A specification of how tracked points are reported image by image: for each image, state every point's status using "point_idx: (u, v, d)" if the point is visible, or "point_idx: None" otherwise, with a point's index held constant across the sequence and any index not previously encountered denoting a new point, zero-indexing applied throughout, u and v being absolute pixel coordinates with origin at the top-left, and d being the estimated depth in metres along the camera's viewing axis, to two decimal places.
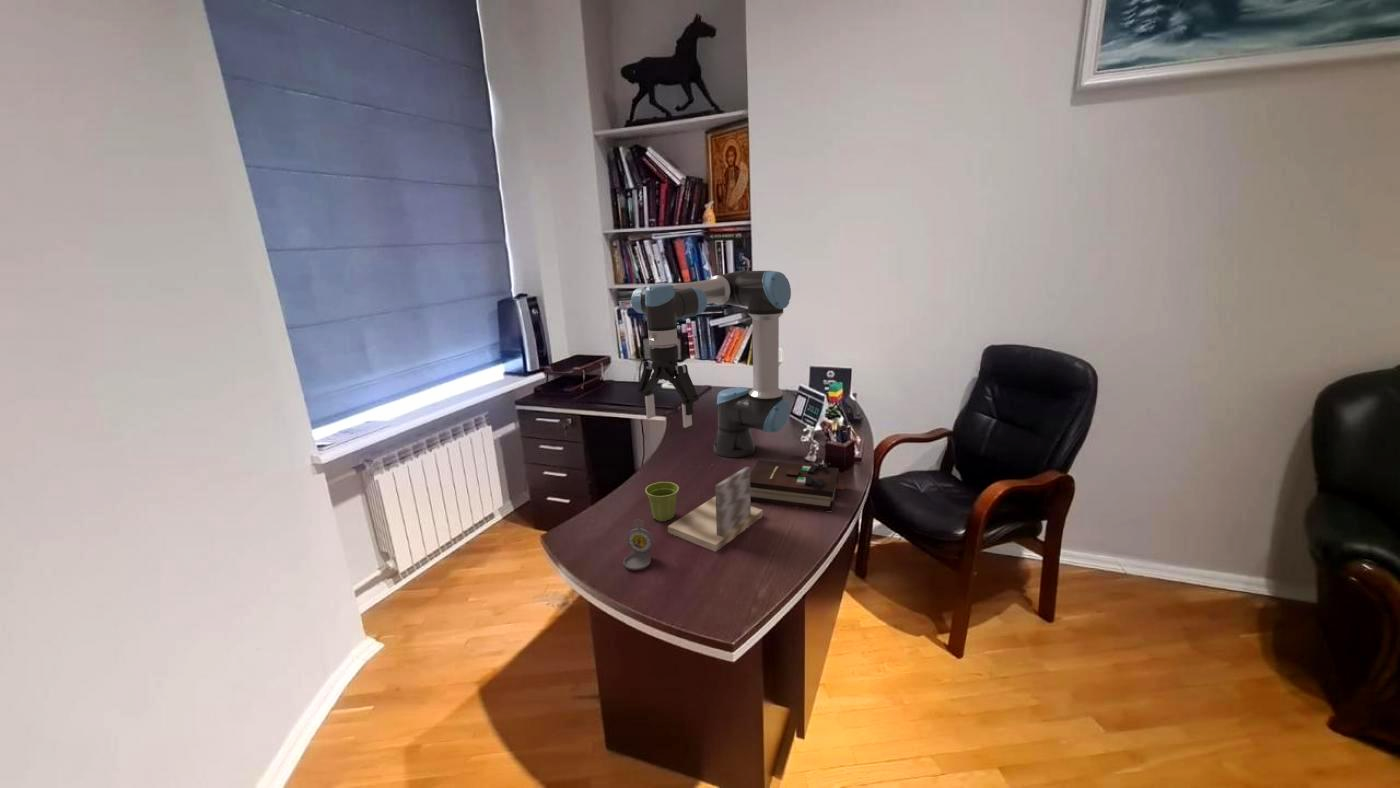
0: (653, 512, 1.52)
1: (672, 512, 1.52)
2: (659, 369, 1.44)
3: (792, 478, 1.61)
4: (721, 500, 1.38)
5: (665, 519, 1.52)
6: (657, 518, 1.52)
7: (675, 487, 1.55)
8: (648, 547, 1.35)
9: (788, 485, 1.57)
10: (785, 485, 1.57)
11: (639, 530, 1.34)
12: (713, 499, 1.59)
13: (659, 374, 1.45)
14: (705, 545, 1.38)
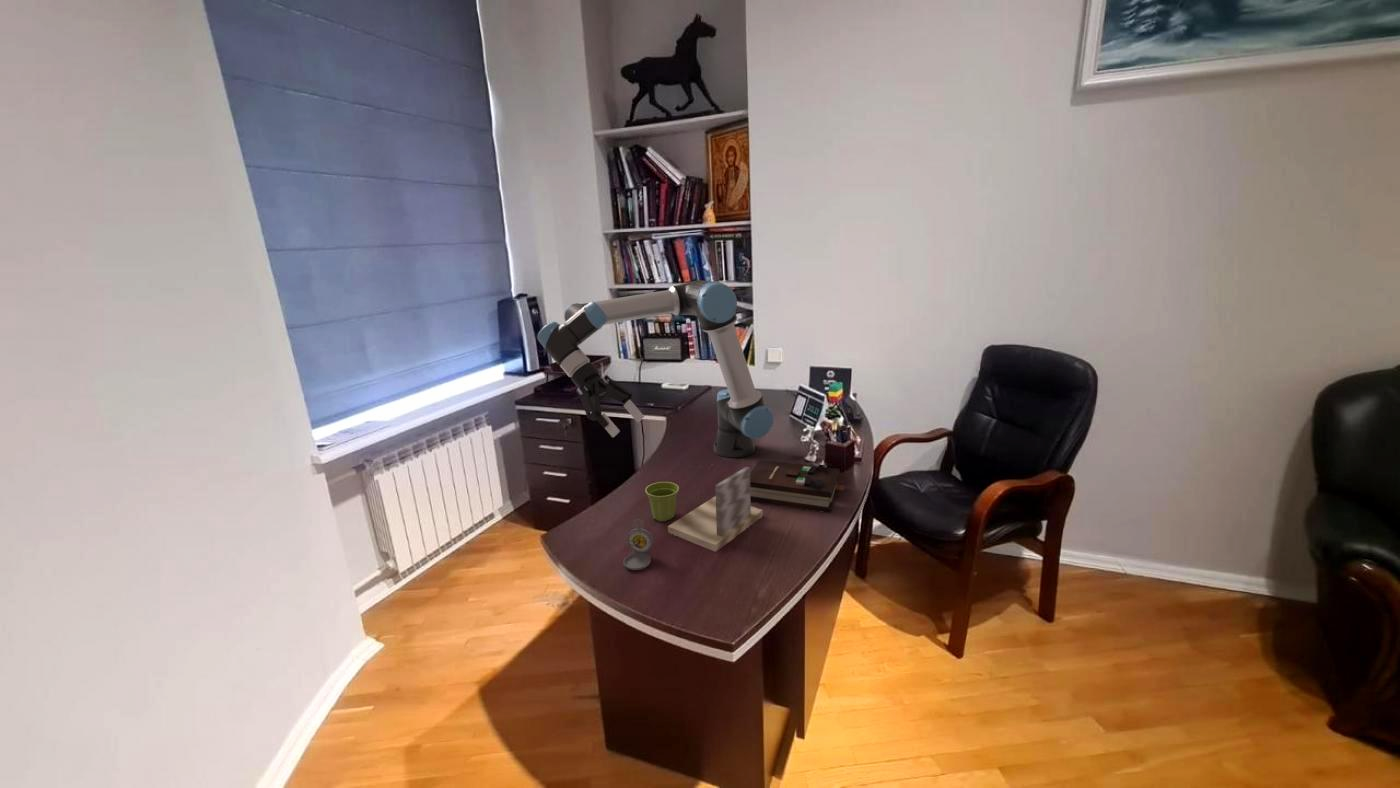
0: (653, 512, 1.52)
1: (672, 512, 1.52)
2: None
3: (791, 478, 1.61)
4: (721, 500, 1.38)
5: (665, 519, 1.52)
6: (657, 518, 1.52)
7: (675, 487, 1.55)
8: (648, 547, 1.35)
9: (787, 485, 1.57)
10: (784, 485, 1.57)
11: (639, 530, 1.34)
12: (713, 499, 1.59)
13: None
14: (705, 545, 1.38)
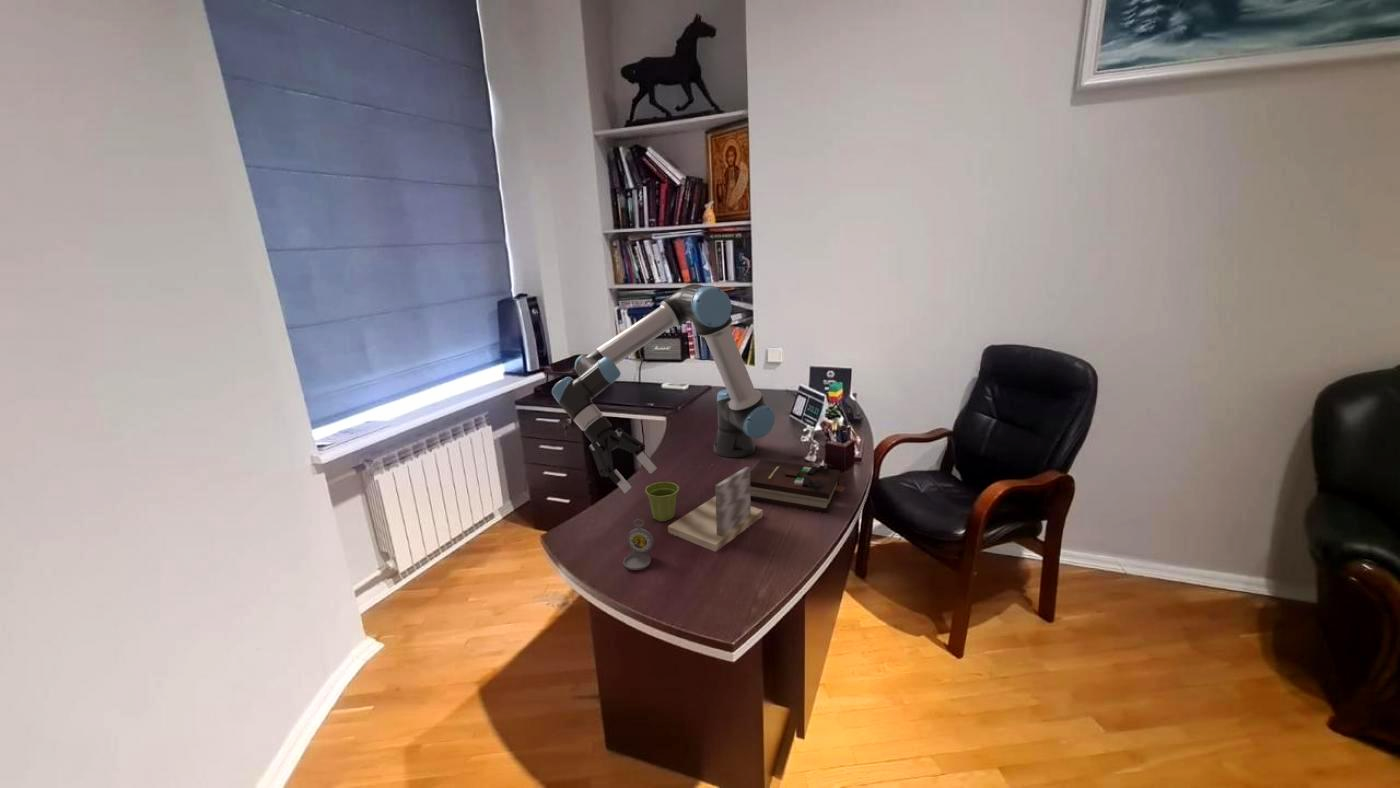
0: (653, 512, 1.52)
1: (672, 512, 1.52)
2: None
3: (791, 478, 1.61)
4: (721, 500, 1.38)
5: (665, 519, 1.52)
6: (657, 518, 1.52)
7: (675, 487, 1.55)
8: (648, 547, 1.35)
9: (786, 485, 1.57)
10: (782, 485, 1.57)
11: (639, 530, 1.34)
12: (713, 499, 1.59)
13: None
14: (705, 545, 1.38)
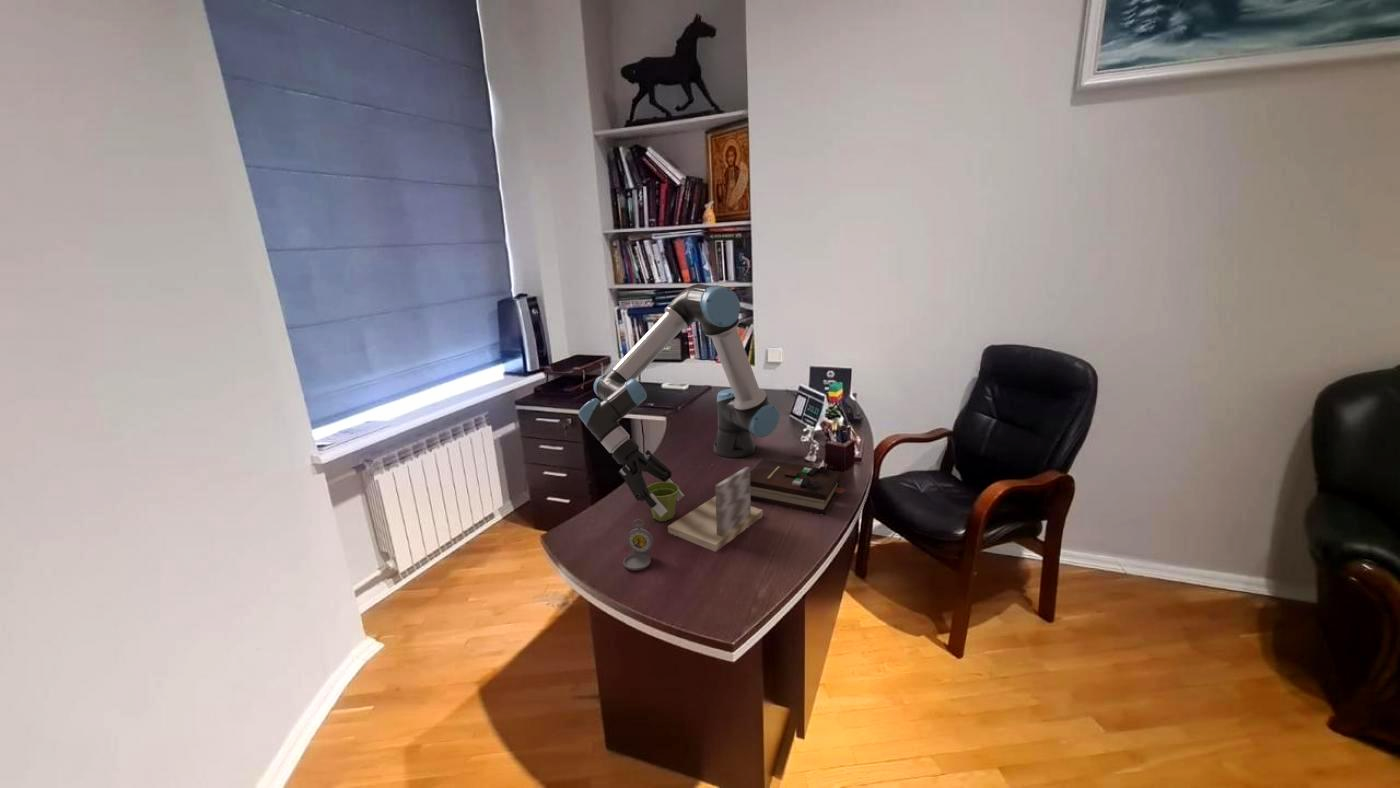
0: (653, 512, 1.52)
1: (672, 512, 1.52)
2: None
3: (790, 479, 1.61)
4: (721, 500, 1.38)
5: (665, 519, 1.52)
6: (657, 518, 1.52)
7: (675, 487, 1.55)
8: (648, 547, 1.35)
9: (784, 486, 1.57)
10: (780, 485, 1.57)
11: (639, 530, 1.34)
12: (713, 499, 1.59)
13: None
14: (705, 545, 1.38)
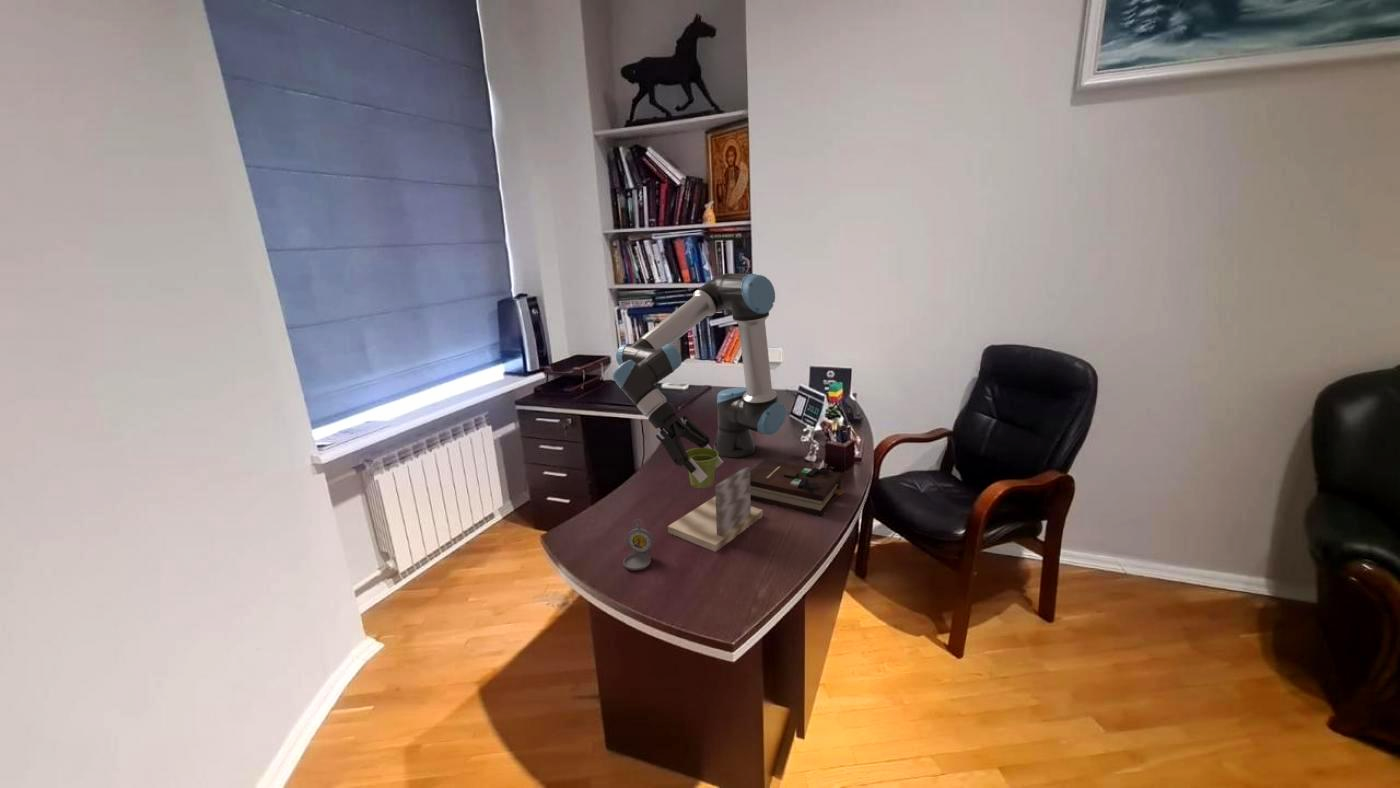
0: (691, 478, 1.45)
1: (711, 479, 1.45)
2: None
3: (788, 479, 1.61)
4: (721, 500, 1.38)
5: (704, 486, 1.44)
6: (696, 485, 1.45)
7: (714, 453, 1.47)
8: (648, 547, 1.35)
9: (781, 486, 1.57)
10: (778, 485, 1.57)
11: (639, 530, 1.34)
12: (713, 499, 1.59)
13: None
14: (705, 545, 1.38)
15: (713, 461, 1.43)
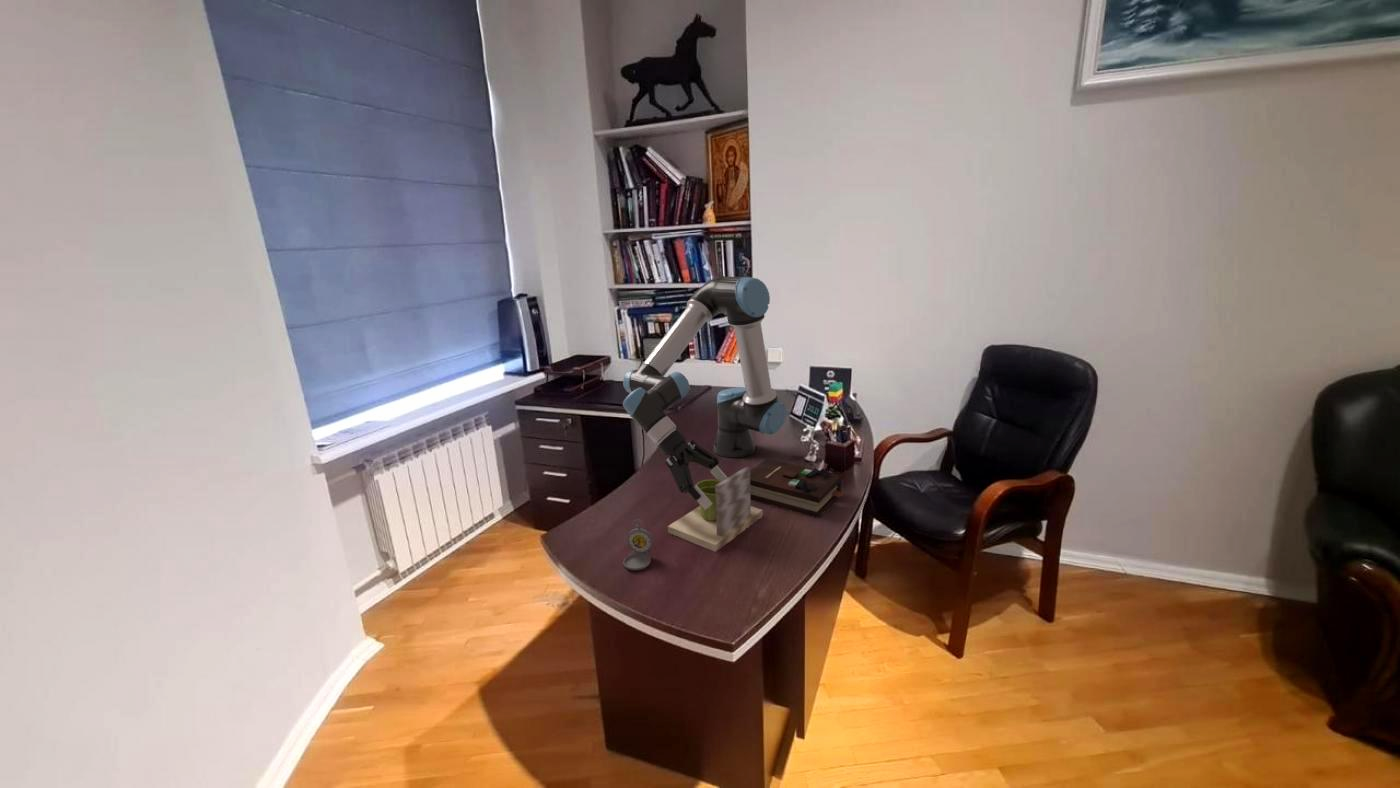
0: (702, 510, 1.47)
1: None
2: None
3: (787, 479, 1.60)
4: (721, 500, 1.38)
5: (714, 518, 1.47)
6: (706, 516, 1.47)
7: None
8: (648, 547, 1.35)
9: (779, 486, 1.57)
10: (776, 485, 1.57)
11: (639, 530, 1.34)
12: None
13: None
14: (705, 545, 1.38)
15: None
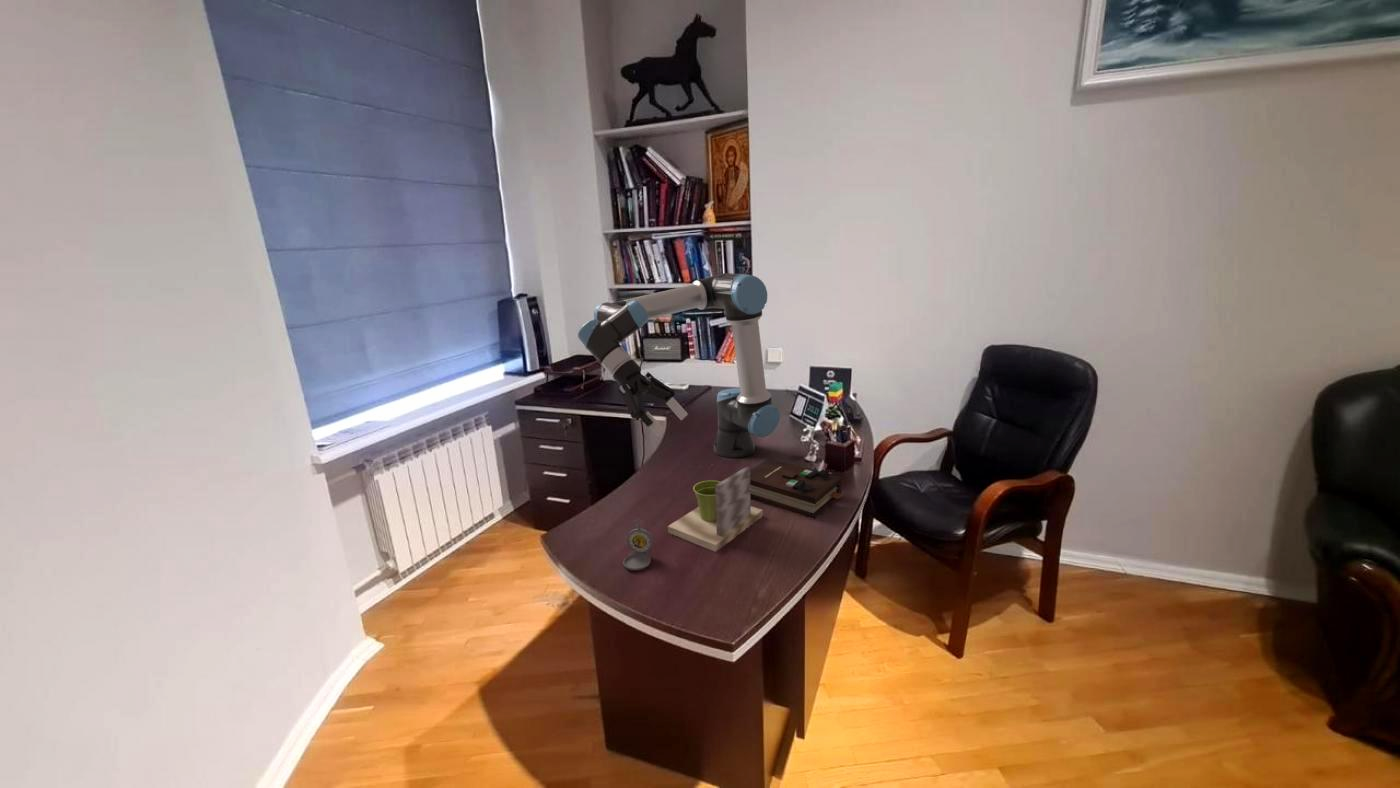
0: (701, 512, 1.47)
1: None
2: None
3: (786, 480, 1.60)
4: (721, 500, 1.38)
5: (714, 519, 1.47)
6: (705, 518, 1.47)
7: None
8: (648, 547, 1.35)
9: (777, 486, 1.57)
10: (773, 485, 1.57)
11: (639, 530, 1.34)
12: None
13: None
14: (705, 545, 1.38)
15: None
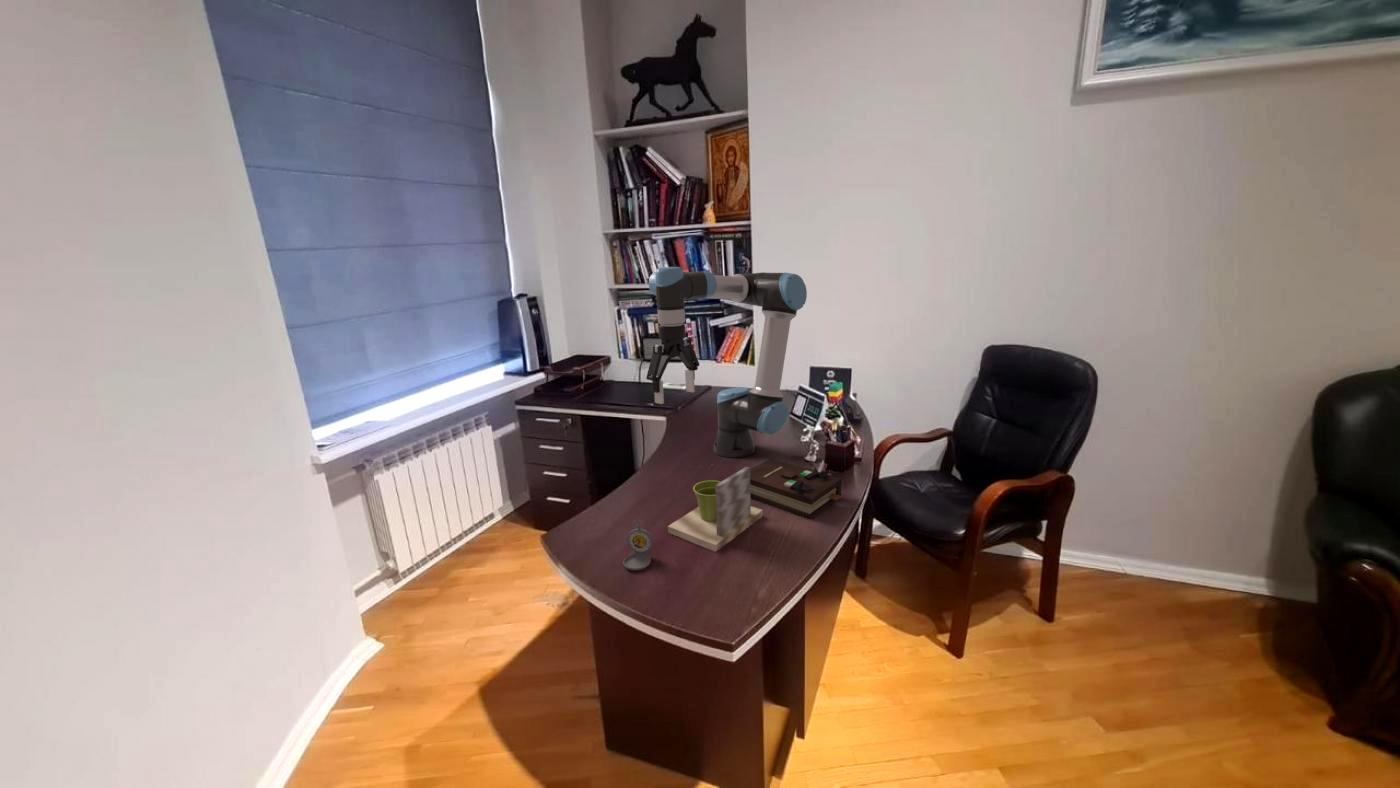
0: (701, 512, 1.47)
1: None
2: None
3: (785, 480, 1.60)
4: (721, 500, 1.38)
5: (714, 519, 1.47)
6: (705, 518, 1.47)
7: None
8: (648, 547, 1.35)
9: (775, 486, 1.57)
10: (771, 485, 1.57)
11: (639, 530, 1.34)
12: None
13: None
14: (705, 545, 1.38)
15: None
